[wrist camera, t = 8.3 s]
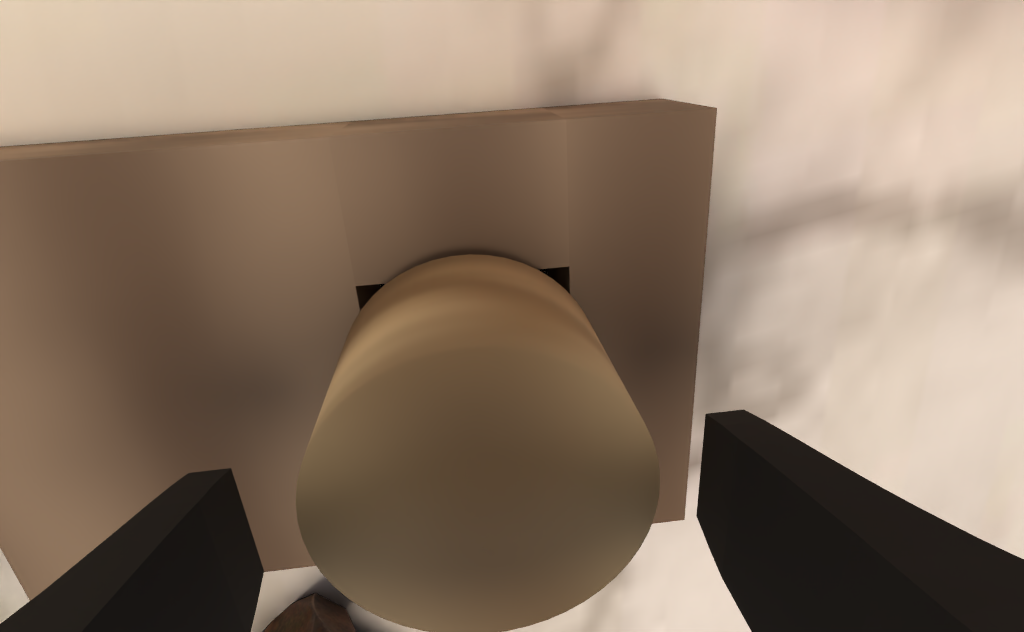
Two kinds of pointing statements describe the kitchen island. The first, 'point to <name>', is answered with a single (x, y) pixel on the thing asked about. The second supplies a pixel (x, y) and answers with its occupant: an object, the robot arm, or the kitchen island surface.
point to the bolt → (312, 617)
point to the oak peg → (475, 453)
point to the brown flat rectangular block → (309, 292)
